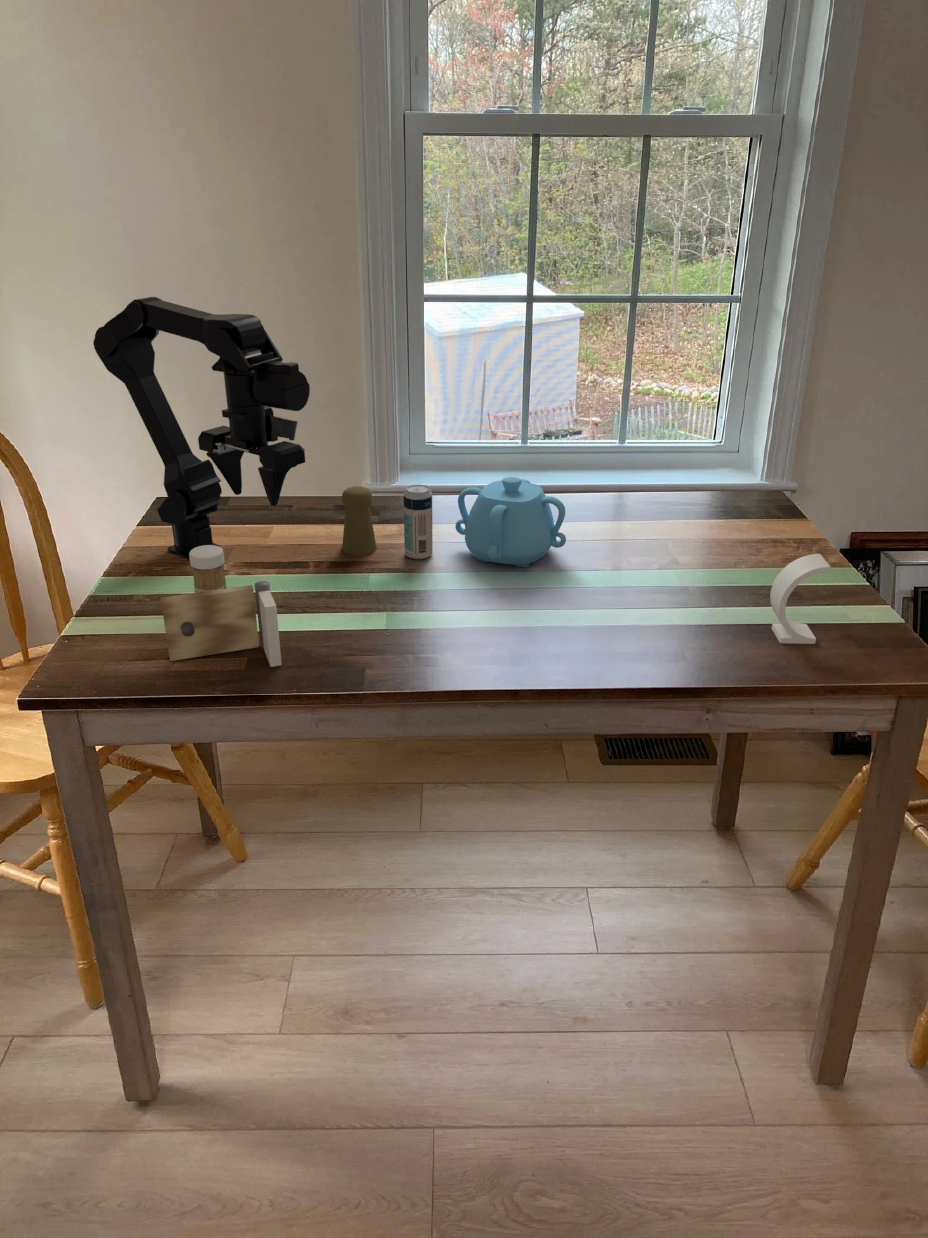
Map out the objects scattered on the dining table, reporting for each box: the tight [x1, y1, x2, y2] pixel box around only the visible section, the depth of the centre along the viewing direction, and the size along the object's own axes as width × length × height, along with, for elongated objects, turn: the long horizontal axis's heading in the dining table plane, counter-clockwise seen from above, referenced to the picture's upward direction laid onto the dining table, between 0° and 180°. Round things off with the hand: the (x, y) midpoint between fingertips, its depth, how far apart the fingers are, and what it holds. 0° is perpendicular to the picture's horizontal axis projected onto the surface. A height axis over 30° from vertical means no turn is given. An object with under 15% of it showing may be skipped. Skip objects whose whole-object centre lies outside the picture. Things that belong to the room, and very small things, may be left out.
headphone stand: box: [769, 553, 832, 645], centre depth 134 cm, size 5×6×12 cm
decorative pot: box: [454, 476, 567, 568], centre depth 159 cm, size 16×16×14 cm
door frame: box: [254, 580, 283, 668], centre depth 128 cm, size 7×2×10 cm, turn 21°
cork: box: [341, 485, 378, 556], centre depth 162 cm, size 6×6×11 cm
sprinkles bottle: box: [189, 545, 227, 593], centre depth 132 cm, size 5×5×13 cm
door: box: [160, 584, 260, 662], centre depth 128 cm, size 12×2×9 cm, turn 111°
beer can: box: [402, 484, 434, 560], centre depth 159 cm, size 5×5×12 cm
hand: (256, 499), depth 151 cm, fingers open, 8 cm apart
